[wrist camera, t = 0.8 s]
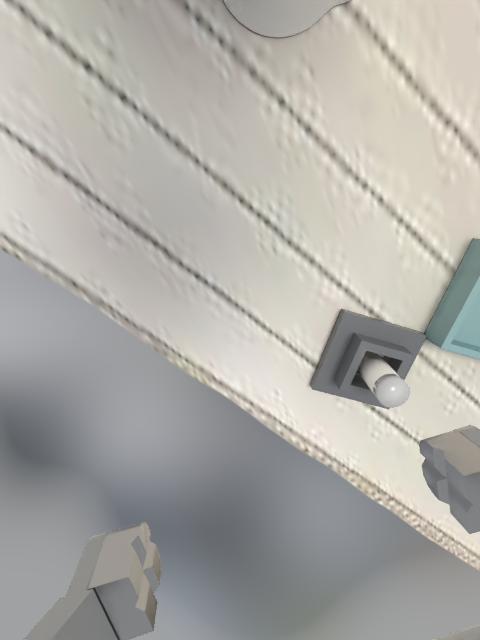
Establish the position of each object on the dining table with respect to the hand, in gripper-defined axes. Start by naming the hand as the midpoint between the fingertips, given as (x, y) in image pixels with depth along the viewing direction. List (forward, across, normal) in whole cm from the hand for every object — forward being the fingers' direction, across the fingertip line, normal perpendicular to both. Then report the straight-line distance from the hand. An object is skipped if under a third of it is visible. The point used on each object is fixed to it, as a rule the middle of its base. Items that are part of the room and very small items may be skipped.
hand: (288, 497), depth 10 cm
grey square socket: (+38, -18, +16) cm, 45 cm away
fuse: (+38, -18, +16) cm, 45 cm away
